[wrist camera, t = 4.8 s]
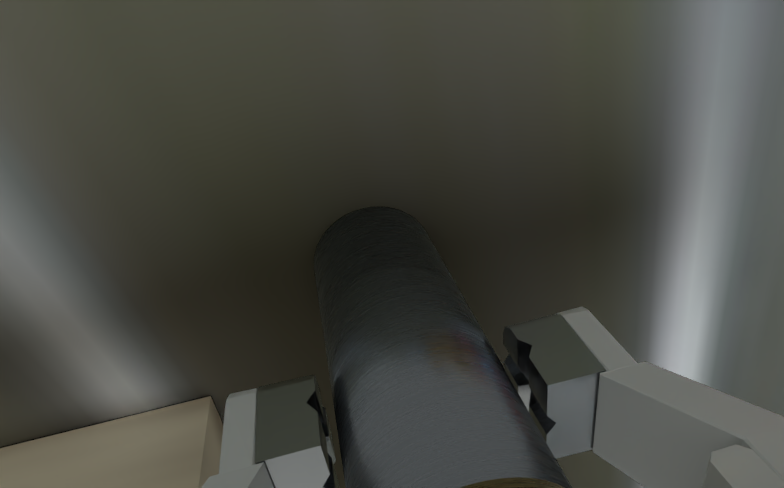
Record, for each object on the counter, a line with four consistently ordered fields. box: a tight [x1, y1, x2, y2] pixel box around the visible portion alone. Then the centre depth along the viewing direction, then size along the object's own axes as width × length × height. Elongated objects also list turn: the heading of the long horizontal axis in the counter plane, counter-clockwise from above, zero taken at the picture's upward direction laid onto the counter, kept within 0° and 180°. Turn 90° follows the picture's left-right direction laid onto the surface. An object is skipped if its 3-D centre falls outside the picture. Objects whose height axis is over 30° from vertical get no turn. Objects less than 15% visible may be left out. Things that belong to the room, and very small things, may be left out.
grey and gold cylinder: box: [314, 207, 572, 488], centre depth 9 cm, size 3×3×9 cm
